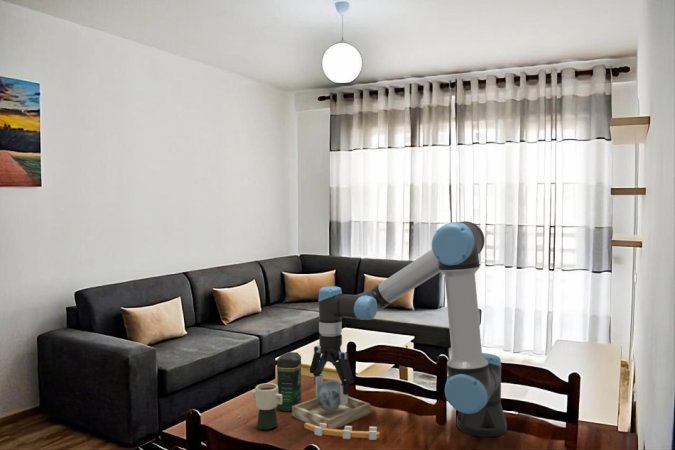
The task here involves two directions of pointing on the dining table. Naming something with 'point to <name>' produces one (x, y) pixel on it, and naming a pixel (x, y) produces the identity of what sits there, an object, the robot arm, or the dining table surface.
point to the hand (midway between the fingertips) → (331, 399)
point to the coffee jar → (289, 380)
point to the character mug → (267, 404)
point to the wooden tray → (331, 413)
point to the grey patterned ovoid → (329, 395)
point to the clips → (346, 431)
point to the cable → (339, 432)
